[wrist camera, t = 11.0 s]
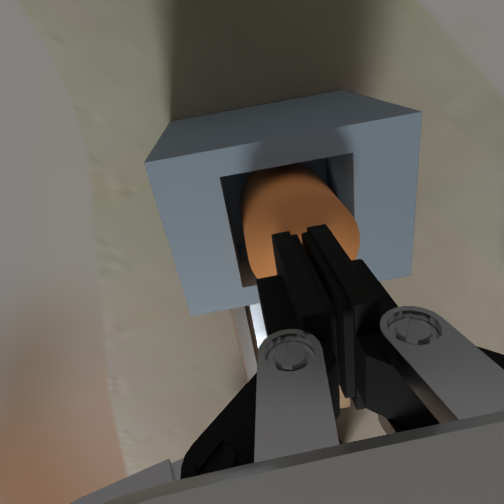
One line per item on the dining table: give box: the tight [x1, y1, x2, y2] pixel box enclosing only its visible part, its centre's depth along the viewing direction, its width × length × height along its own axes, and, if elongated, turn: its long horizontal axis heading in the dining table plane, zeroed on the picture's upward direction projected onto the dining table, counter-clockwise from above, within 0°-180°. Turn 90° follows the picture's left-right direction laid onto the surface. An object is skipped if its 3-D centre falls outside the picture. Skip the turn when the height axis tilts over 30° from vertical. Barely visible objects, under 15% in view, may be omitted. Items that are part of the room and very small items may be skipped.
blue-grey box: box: [144, 90, 422, 316], centre depth 18 cm, size 10×7×9 cm
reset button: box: [240, 162, 360, 279], centre depth 15 cm, size 4×4×4 cm
